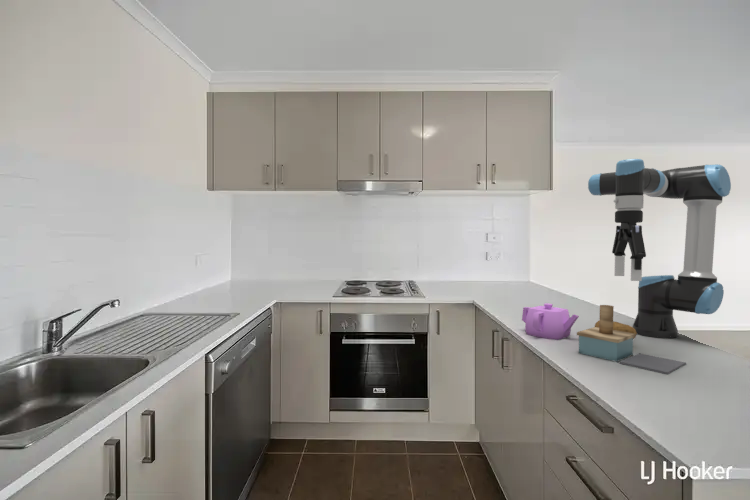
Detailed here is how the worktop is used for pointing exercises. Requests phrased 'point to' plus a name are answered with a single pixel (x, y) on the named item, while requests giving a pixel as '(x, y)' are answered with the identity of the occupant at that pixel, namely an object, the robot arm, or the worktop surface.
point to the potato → (621, 327)
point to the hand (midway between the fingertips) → (627, 278)
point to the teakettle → (548, 321)
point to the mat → (653, 363)
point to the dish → (605, 348)
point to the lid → (606, 328)
